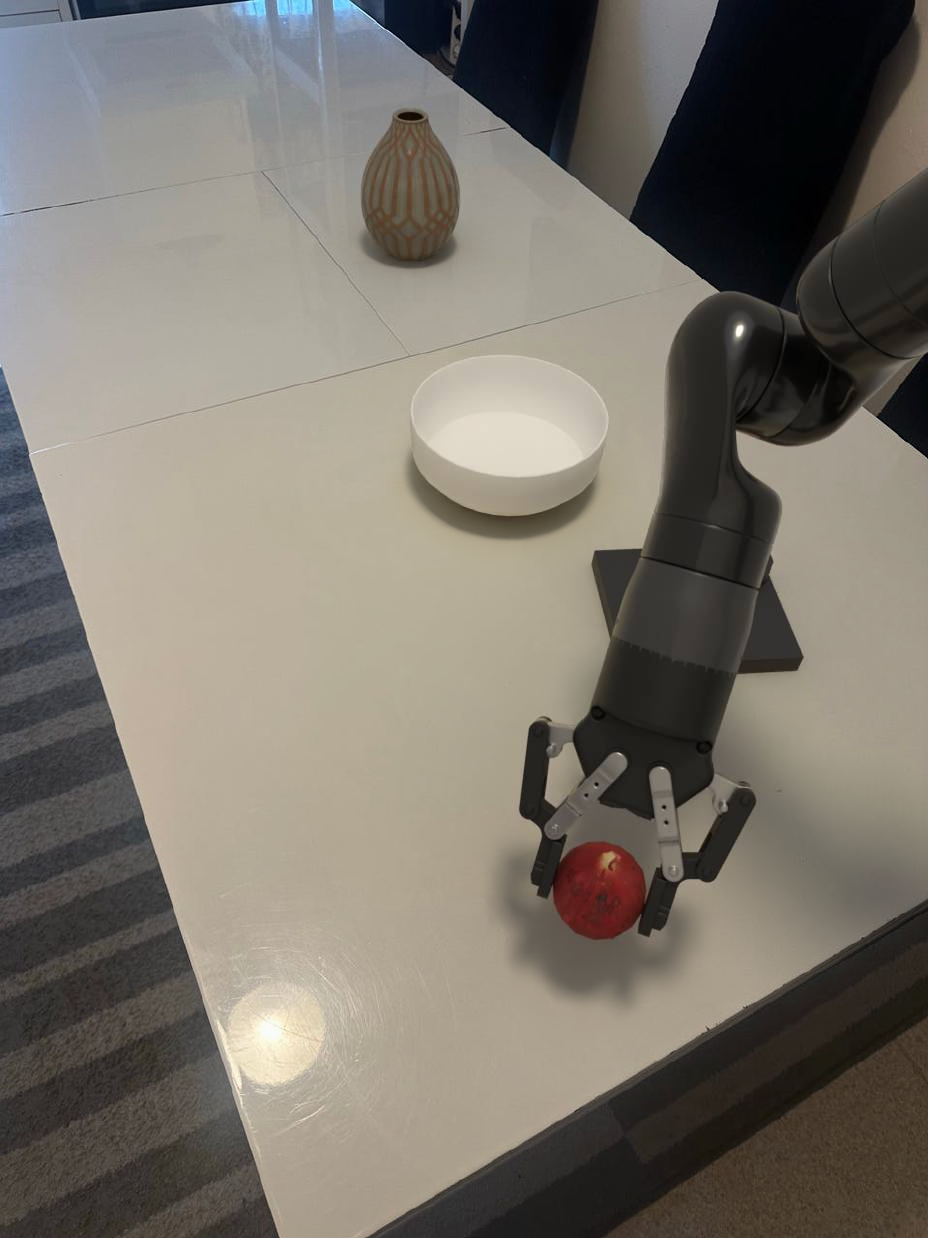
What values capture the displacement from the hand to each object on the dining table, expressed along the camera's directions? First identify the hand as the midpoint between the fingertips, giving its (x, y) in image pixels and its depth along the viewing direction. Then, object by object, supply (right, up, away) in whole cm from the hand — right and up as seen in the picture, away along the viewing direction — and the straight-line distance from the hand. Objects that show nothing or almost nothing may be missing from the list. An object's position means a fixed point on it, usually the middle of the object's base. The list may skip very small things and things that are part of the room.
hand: (593, 911), depth 56 cm
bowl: (-4, +33, +41) cm, 53 cm away
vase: (-15, +69, +71) cm, 100 cm away
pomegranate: (0, -2, +4) cm, 5 cm away
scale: (+13, +18, +30) cm, 37 cm away
